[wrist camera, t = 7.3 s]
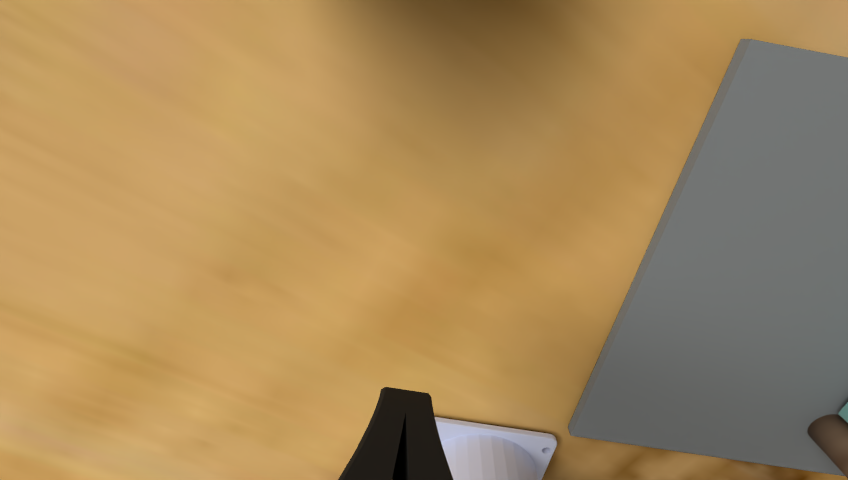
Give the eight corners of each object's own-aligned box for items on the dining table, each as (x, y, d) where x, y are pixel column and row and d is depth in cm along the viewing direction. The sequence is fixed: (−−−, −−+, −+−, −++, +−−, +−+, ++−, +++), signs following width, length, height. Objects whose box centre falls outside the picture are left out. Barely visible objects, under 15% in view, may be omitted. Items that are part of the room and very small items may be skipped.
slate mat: (840, 467, 26) (849, 476, 26) (567, 426, 25) (570, 435, 25) (1154, 117, 17) (1178, 120, 16) (741, 39, 16) (751, 39, 16)
